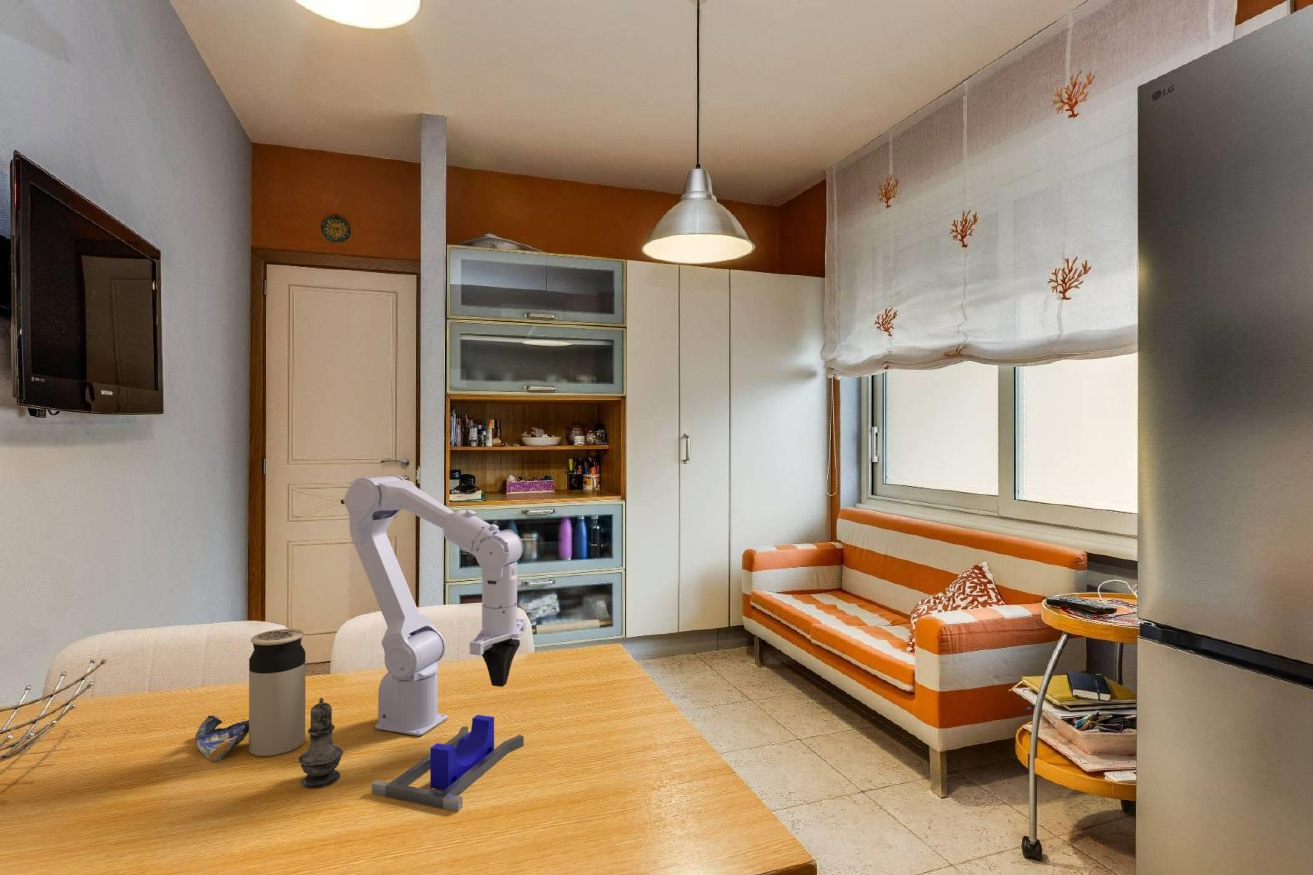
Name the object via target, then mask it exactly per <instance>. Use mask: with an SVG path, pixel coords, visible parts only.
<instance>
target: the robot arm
mask: <svg viewBox="0 0 1313 875" xmlns="http://www.w3.org/2000/svg"><path fill="white" fill-rule="evenodd" d="M342 501H343V503H344V505H345V508H346V511H347V513H348V517H349V534H350V537H351V539H352V542H353V545H354V547H355V550H356V553H357V554H358V557H359V559H360V562H361V565H362V567H363V569H364V573H365V575H366V577H367V579H368V582H369V584H370V587H371V589H372V591H373V595H374V596H375V599H376V602H377V604H378V606H379V609H380V611H381V614H382V616H383V618H384V621H385V623H386V626H387V627H386V630H385V632H384V634H383V637H382V639H381V645H382V649H383V652H384V664H385V665H384V666H385V668H386V670H387V672H386V673H385V674H384V675H383V676H382V678H381V680H380V682H379V685H378V692H377V695H378V700H377V703H378V704H377V705H378V706H377V707H378V709H377V710H378V711H377V712H378V713H377V715H378V716H377V719H378V721H377V724H375V725H374V729H376V730H382V731H387V732H388V731H389V732H395V733H400V734H406V735H413V736H417V737H419V736H420V737H421V736H422V735H424V734H426V733H427V732H429V731H431V729H433V728H435V727H437V726H438V725H439V724H441V723H442V722H444V721H445V720H447V719H448V718H449V715H448V714H445V713H438V707H439V706H438V701H439V700H438V692H439V691H438V690H439V689H438V686H439V685H438V681H439V679H438V677H439V673H438V670H439V667H440V664H439V663H440V661H441V659H442V658H443V657H444V655H445V653H446V648H447V644H446V640H445V638H444V635H443V634H442V633H441V632H440V631H439V630H438V629H437V628H436V626H435V625H434V623H433V621H432V619H431V618H429V617H427V616H426V615H424V614H422V613H420V611H419V609H418V607H417V605H416V602H415V599H414V598H413V595H412V593H411V590H410V587H409V585H408V583H407V580H406V578H405V576H404V573H403V571H402V570H403V569H402V568H401V566H400V563H399V561H398V559H397V557H396V554H395V551H394V549H393V547H392V544H391V542H390V539H389V537H388V534H387V530H388V528H389V526H390V524H391V523H392V521H393V520H394V519H395V517H396V516H398V514H399V513H400V512H401V511H402V510H405V511H407V512H409V513H411V514H413V515H415V516H417V517H419V518H421V519H423V520H425V521H427V522H429V523H431V524H433V525H435V526H437V527H439V528H440V529H442V532H443V536H444V539H446V540H448V541H449V542H451V543H452V544H454V545H456V546H457V547H459V548H461V549H462V550H464V551H466V552H468V553H469V554H471V555H472V556H474V557H475V558H476V561H477V563H478V565H479V567H480V568H481V577H482V582H481V583H482V584H481V585H482V588H481V589H482V590H481V591H482V593H481V598H482V599H481V630H480V631H479V632H478V634H477V635H476V636H475V638H474V639H473V640H471V641H470V642H469V655H473V656H481V657H482V659H483V660H484V662H485V665H486V667H487V668H486V669H487V672H488V675H489V679H490V684H491V686H492V687H493V686H494V687H500V688H503V687H504V686H506V685H507V683H508V679H509V676H510V671H511V667H512V664H513V660H514V658H515V655H516V653H517V651H518V649H519V647H520V646H521V641H520V640H519V639H518V638H521V637H522V636H523V633H524V632H526V631H527V626H526V625H527V620H526V619H523V618H522V619H521V618H517V617H518V611H517V610H518V560H520V558H521V557H522V555H523V552H524V543H523V541H522V539H521V538H520V536H519V535H518V534H517V533H516V532H514V530H512V529H504V530H499V528H500V527H499V526H498V525H497V524H495V523H493V524H490V523H488V522H487V521H485V520H483V519H481V518H480V517H477V512H476V511H474V510H472V509H468V510H465V509H460V510H457V511H453V510H452V509H450V508H449V507H447V506H446V505H445V504H443V503H441V502H440V501H438V500H436V498H434V497H432V496H430V495H429V494H428V493H426V492H424V491H423V490H421V489H420V488H419V487H417V485H415V484H414V482H413V481H410V480H409V479H405V478H404V477H402V476H401V475H397V474H390V475H387V476H375V477H359V478H356V479H355V480H353V481H352V482H351V483H350V484H349V486H348V489H347V491H346V494H344V498H343V500H342Z"/></svg>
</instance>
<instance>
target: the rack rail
mask: <svg viewBox="0 0 1313 875" xmlns="http://www.w3.org/2000/svg"><path fill="white" fill-rule="evenodd" d="M468 733H469V726H461V728H460V729H459V731H458V733H457V734H456V735H454V736H453V738H450V739H449V740H448V741H446V742H445V743H444V744H445V745H451V746H455V748H456V747H457V745H458V743H459V740H460V739H461V738H462V737H464V736H465V735H466V734H468ZM524 738H525V736H524V735H521V734H518V735H515V736H514V737H511V738H508V739H507V740H504V741H503V742H502V743H500V744H499V745H498V746H497V747H494V750H493V751H492V752H491V753H489V754H488V755H487V756H486V757H484V758H483V759H482V760H481V761H480V762H478V763H477V764H476V765H475V766H473V767H472V768H471V769H470V770H469V771H467V772H466V773H465V774H464V775H462V776H461V777H460V778H459V779H458V780H456V781H455V782H454V783H453V784H451V785H450V786H449V787H448V788H447V789H445V790H444V791H442V792H441V791H437V790H432V789H431V790H429V789H427V788H426V789H425V788H421V787H415V786H410V784H412V783H414V782H415V781H416V780H417V779H419V778H420V777H421V776H423V775H424V774H425V773H427V772H428V771H430V754H428V755H426V756H425V757H424V758H423V759H421V760H419V762H417V763H415V764H414V765H412V766H411V767H410V768H408V769H407V770H405V772H403V773H401V774H400V775H398V776H397V777H396V778H394V779H393V780H392V781H385V780H380V779H376V780H374V781H373V782H371V794H372V795H375V796H381V797H385V798H389V799H390V798H391V799H396V800H400V801H406V802H410V803H413V804H419V805H424V806H429V807H434V808H438V809H439V808H440V809H444V810H449V811H453V812H459V811H461V810H462V809H463V807H464V805H463V801H464V799H463V798H464V797H463V796H462V795H461V794H463V792H465V791H466V790H467V789H468V788H469V787H470V786H471V785H473V784H474V783H475V782H476V781H477V780H478V779H480V778H481V777H482V776H483V775H484V774H485V773H487V772H488V771H489V770H490V769H491V768H492V767H494V766H495V765H496V764H497V763H498V762H499V761H501V760H502V759H503V758H504V757H505V756H507V755H508V754H509V753H511V752H514V751H516V750H517V749H520V748H522V747H524V744H525V742H524Z"/></svg>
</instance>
